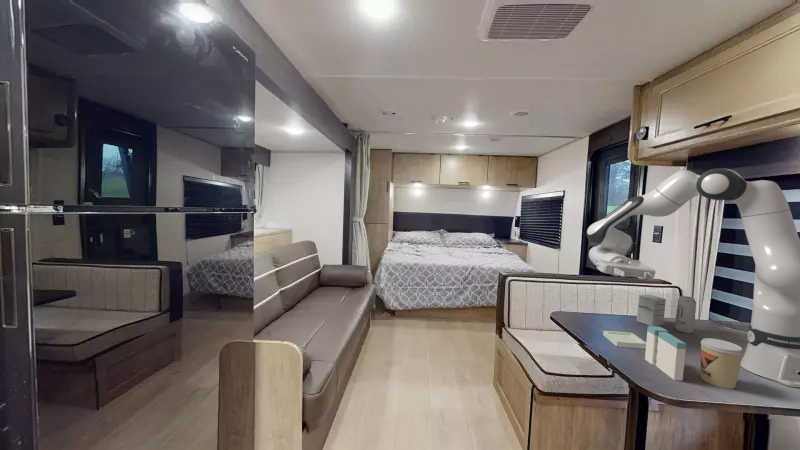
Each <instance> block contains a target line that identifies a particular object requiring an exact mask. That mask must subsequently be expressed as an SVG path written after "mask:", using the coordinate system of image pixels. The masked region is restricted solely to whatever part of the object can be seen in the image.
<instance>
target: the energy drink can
mask: <svg viewBox="0 0 800 450" xmlns="http://www.w3.org/2000/svg"><path fill="white" fill-rule="evenodd" d="M696 310H697V302H696V299H695V297H692V296H687V295H680V296H679V298H678V299H677V308H676V317H675V318H676V319H675V328H676V331H678V332H680V333H684V334H692V333H693V332H694V329H695V322H696V312H697V311H696Z"/></svg>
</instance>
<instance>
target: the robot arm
mask: <svg viewBox="0 0 800 450" xmlns="http://www.w3.org/2000/svg"><path fill="white" fill-rule="evenodd" d="M697 196H702V197H704V198H705V199H708V200H712V201H733V202H734V203H735V205H736V206H737V208H738V211H739V214H740V218H741V223H742V225H743V229H744V232H745V236H746V239H747V243H748V245H749V249H750V250H751V251H750V252H751V255H752V258H753V261H754V264H755V269H754V279H753V281H754V283H753V297H752V299H753V301H752V311H751V312H752V313H751V321H750V324H749V325H748V330H747V345H746V348H745V351H744V353H743V355H742V359H741V364H740V367H742V368H743V369H745V370H746V371H749V372H750V373H752V374H755V375H758V376H761V377H762V378H764V379H765V378H766V379H770V380H773V381H775V382H778V383H780V384H782V385H785V386H788V387H793V388H799V389H800V237H799V234H798V231H797V228H796V224H795V220H794V218H793V214H792V211H791V208H790V205H789V203H788V200H787V198H786V196H785V193H784V192H783V190H782V188H781V187H780V186H779V184H778V183H777V182H775V181H772V180H765V179H760V180H752V181H747V180H745V179H744V177H743V175H741V174H740V173H739V172H737V171H735V170H734V169H729V168H722V167H721V168H720V167H719V168H712V169H709V170H706V171H705V172H703V173H702V174H701V175H700V174H697V173H696V172H693V171H691V170H686V169H681V170H678V171H676V172H674V173H673V174H670V175H669V176H668V177H666V178H665V179H664V180H663V181H661V182H660V183H659V184H658V185H657V186H656V187H654V189H652V190H650V191H649V192H647V193H645V194H642V195H637V196H633V197H631V198H629V199H627V200H626V201H625V202H623V203H622V204H620V205H619V206H617V207H616V208H615V209H613V210H612V211H610V212H609V213H608V214H606V215H605V216H603V217H602V218H600V219H599V220H596V221H594V222H592V223H591V224H590V225H589V226H588V227H587V230H586V237H587V240H588V242H589V243H591V244H594V245H596V246H593V247H591V248H590V250H589V251H588V258H589V260H590V262H591V263H592V264H593V265H595V266H596V269H597V270H598V271H600V272H601V273H604V274H608V275H609V274H610V275H611V276H614V277H624V278H627V277H632V278H640V279H645V280H648V281H653V279H654V278H655V276H656V270H655V269H654V268H652V267H651V266H649V265H647V264H645V263H642V262H641V260H639V259H635V258H631V257H627V256H628V255H629V254H630V252H631V251H632V249H633V246H634V245H633V244H634V242H633V238H632V236H631V235H630V234H627V233H626V232H624V231H621V230H619V229H617V228H615V227H616V226H617V225H618V224H620V223H621V222H623V221H624V220H626V219H628V218H629V217H632V216H637V215H641V216H642V215H643V216H650V217H656V218H657V217H658V218H660V217H667V216H670V215H672V214H674V213H675V212H676V211H678V210H679V209H681V208H682V207H683V206H684V205H685V204H686V203H687V202H689V201H690V200H692V199H693V198H694V197H697Z"/></svg>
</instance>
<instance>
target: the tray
mask: <svg viewBox="0 0 800 450" xmlns="http://www.w3.org/2000/svg"><path fill="white" fill-rule="evenodd" d="M602 333H603V334H602V335H603V336H604V337H605V338H606V339H607V340H608V341H609V342H611V343H612V344H613V345H614V346H616V347H617V346H618V347H619V348H629V349H631V348H632V349H640V350H641V349H642V350H644V349H645V350H646V341H644V339H642V338H641V337H639V336H638V335H637V334H635V333H633V332H626V331H625V332H624V331H615V330H614V331H613V330H603V332H602Z"/></svg>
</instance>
